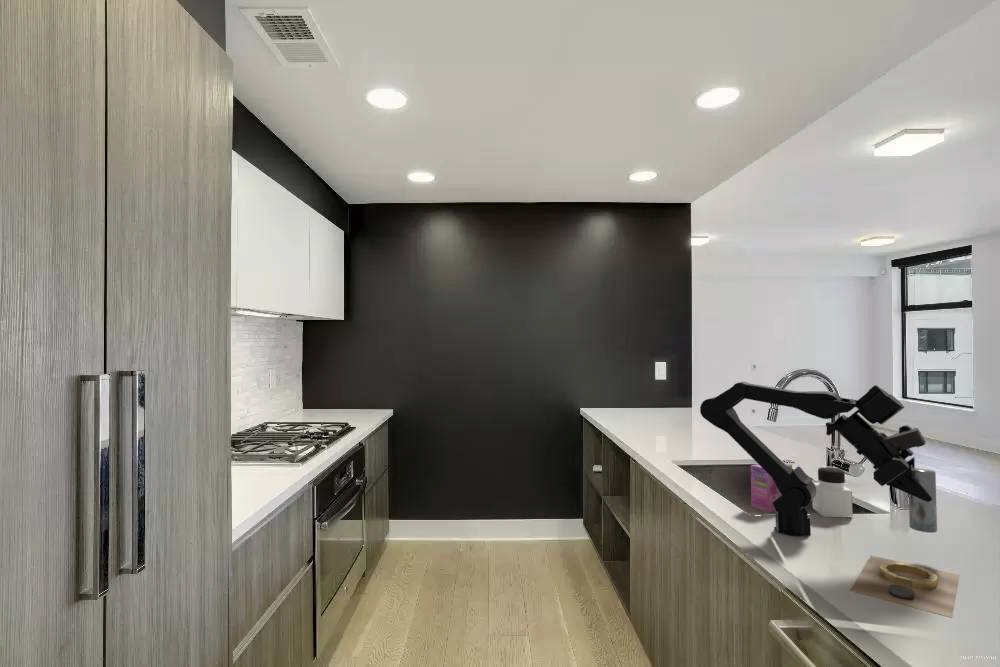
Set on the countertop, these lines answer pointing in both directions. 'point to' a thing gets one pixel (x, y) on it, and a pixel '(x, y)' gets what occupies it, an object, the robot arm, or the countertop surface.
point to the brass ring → (914, 583)
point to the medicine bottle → (832, 494)
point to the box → (763, 489)
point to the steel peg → (924, 503)
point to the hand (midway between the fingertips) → (930, 497)
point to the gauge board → (908, 588)
